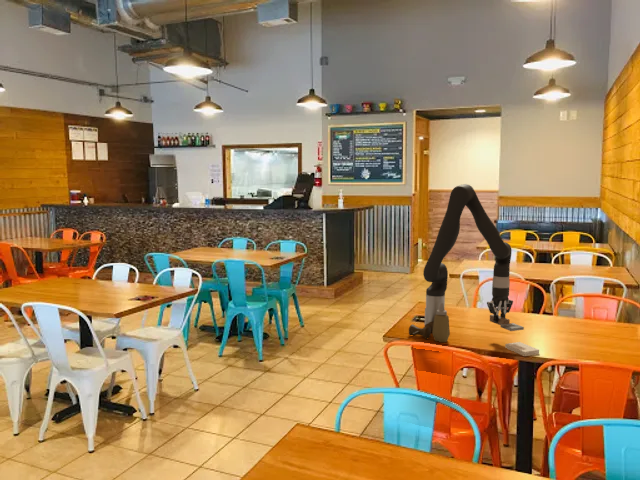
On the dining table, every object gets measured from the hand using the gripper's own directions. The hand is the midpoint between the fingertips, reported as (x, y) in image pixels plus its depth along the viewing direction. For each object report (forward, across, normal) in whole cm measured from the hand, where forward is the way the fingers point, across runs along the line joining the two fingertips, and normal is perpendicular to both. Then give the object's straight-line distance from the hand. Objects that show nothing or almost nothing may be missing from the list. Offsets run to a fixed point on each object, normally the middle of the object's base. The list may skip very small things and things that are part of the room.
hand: (499, 321), depth 251 cm
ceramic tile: (+8, 0, +9) cm, 12 cm away
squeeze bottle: (+9, +25, -10) cm, 28 cm away
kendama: (+10, +28, -20) cm, 36 cm away
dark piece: (+1, 0, +4) cm, 4 cm away
